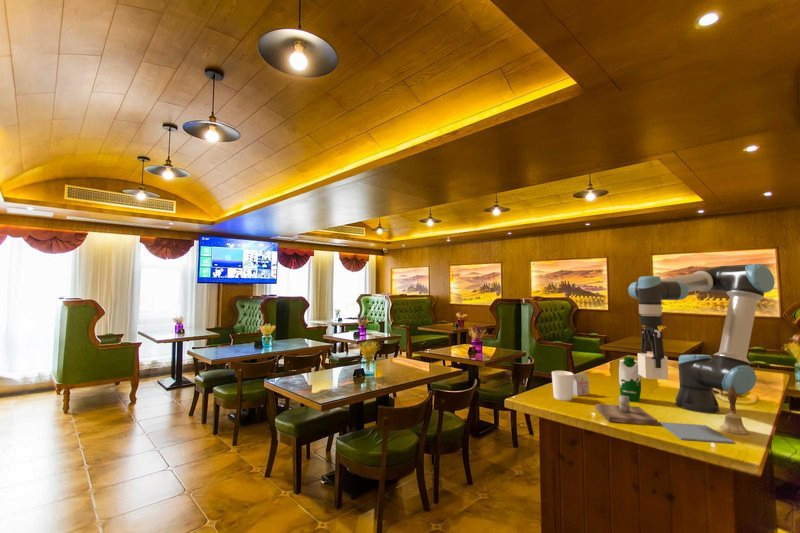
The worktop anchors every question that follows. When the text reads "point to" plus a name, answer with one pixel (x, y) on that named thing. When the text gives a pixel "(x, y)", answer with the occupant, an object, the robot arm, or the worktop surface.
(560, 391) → the candle holder
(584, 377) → the tea bag
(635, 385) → the milk carton
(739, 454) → the worktop surface
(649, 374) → the white cubic block
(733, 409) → the hand bell
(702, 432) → the mat
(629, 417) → the post stand
